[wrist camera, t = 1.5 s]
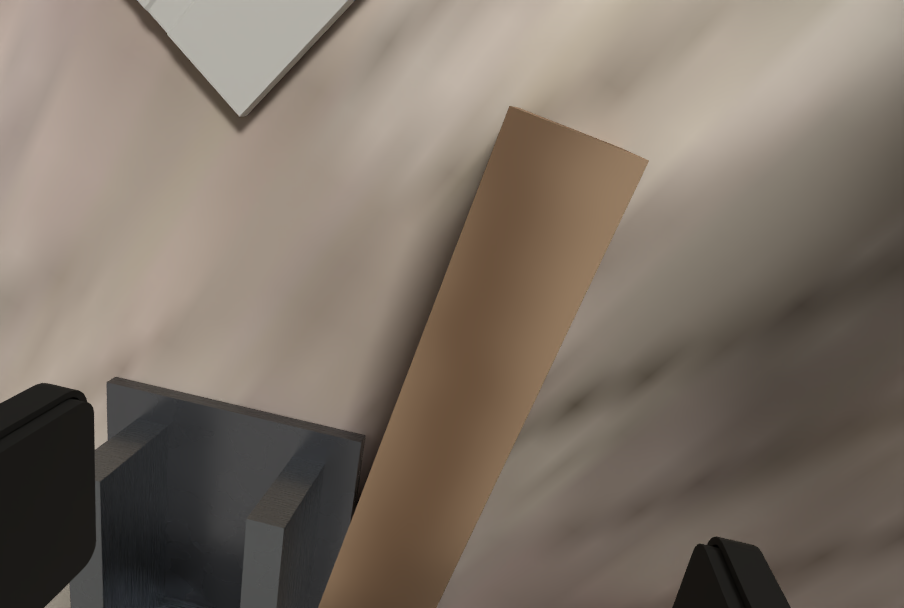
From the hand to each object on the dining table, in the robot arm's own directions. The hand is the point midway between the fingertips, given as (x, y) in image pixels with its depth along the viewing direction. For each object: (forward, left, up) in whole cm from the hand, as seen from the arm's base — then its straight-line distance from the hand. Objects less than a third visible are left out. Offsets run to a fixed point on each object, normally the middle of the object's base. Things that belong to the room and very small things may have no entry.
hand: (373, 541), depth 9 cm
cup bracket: (+10, +15, -15) cm, 23 cm away
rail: (0, +4, -16) cm, 16 cm away
